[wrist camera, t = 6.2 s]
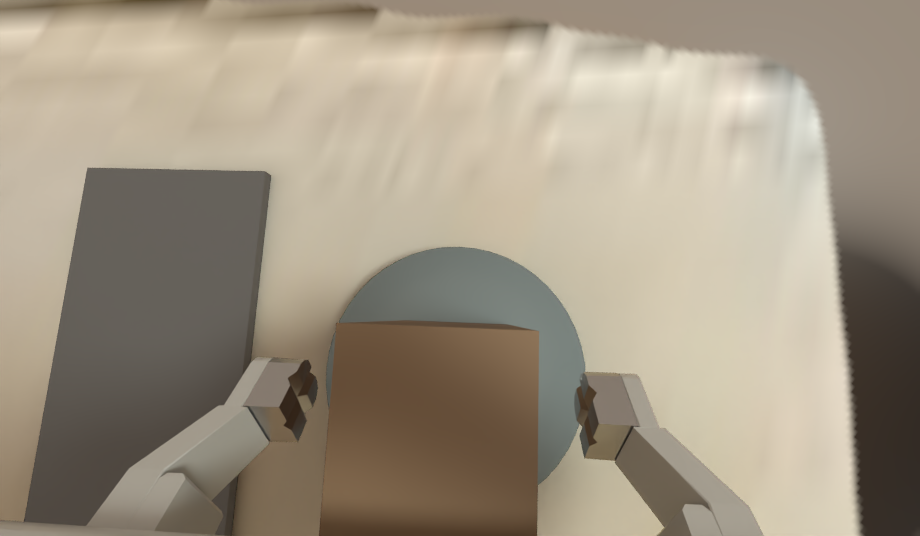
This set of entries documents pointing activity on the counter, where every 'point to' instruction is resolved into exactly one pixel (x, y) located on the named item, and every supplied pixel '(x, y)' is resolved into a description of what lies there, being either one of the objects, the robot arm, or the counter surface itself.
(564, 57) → the counter surface
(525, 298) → the slate saucer
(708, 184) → the counter surface
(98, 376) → the rubber mat
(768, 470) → the counter surface
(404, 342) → the brown rectangular block
